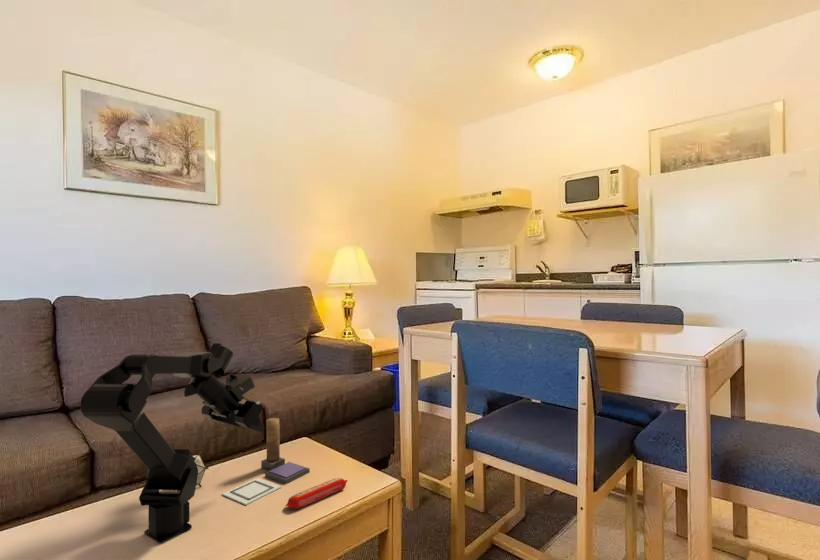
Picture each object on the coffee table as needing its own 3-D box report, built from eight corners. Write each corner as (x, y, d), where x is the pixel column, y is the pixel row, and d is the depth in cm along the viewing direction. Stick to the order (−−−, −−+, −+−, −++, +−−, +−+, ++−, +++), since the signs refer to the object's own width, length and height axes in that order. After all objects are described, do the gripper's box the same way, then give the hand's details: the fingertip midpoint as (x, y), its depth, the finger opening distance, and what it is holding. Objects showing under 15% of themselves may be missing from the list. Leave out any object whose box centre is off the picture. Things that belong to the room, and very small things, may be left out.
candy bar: (340, 484, 107) (340, 472, 107) (349, 489, 105) (349, 477, 105) (282, 509, 96) (282, 495, 96) (291, 515, 93) (291, 501, 93)
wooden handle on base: (271, 471, 114) (271, 423, 115) (261, 468, 117) (261, 420, 117) (284, 466, 118) (284, 418, 118) (274, 462, 121) (274, 416, 121)
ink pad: (286, 484, 107) (286, 478, 107) (265, 476, 112) (265, 471, 112) (309, 472, 114) (309, 467, 114) (289, 465, 118) (289, 460, 118)
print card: (246, 505, 97) (245, 503, 97) (222, 495, 102) (222, 493, 102) (281, 487, 105) (281, 485, 105) (257, 478, 110) (257, 477, 110)
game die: (193, 505, 105) (194, 482, 99) (161, 492, 105) (160, 469, 100) (215, 473, 112) (217, 450, 107) (185, 461, 112) (185, 438, 107)
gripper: (258, 368, 103) (293, 406, 111) (214, 362, 113) (249, 398, 121) (227, 407, 96) (267, 445, 104) (183, 398, 106) (222, 432, 114)
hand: (251, 428), depth 111 cm, fingers open, 9 cm apart
